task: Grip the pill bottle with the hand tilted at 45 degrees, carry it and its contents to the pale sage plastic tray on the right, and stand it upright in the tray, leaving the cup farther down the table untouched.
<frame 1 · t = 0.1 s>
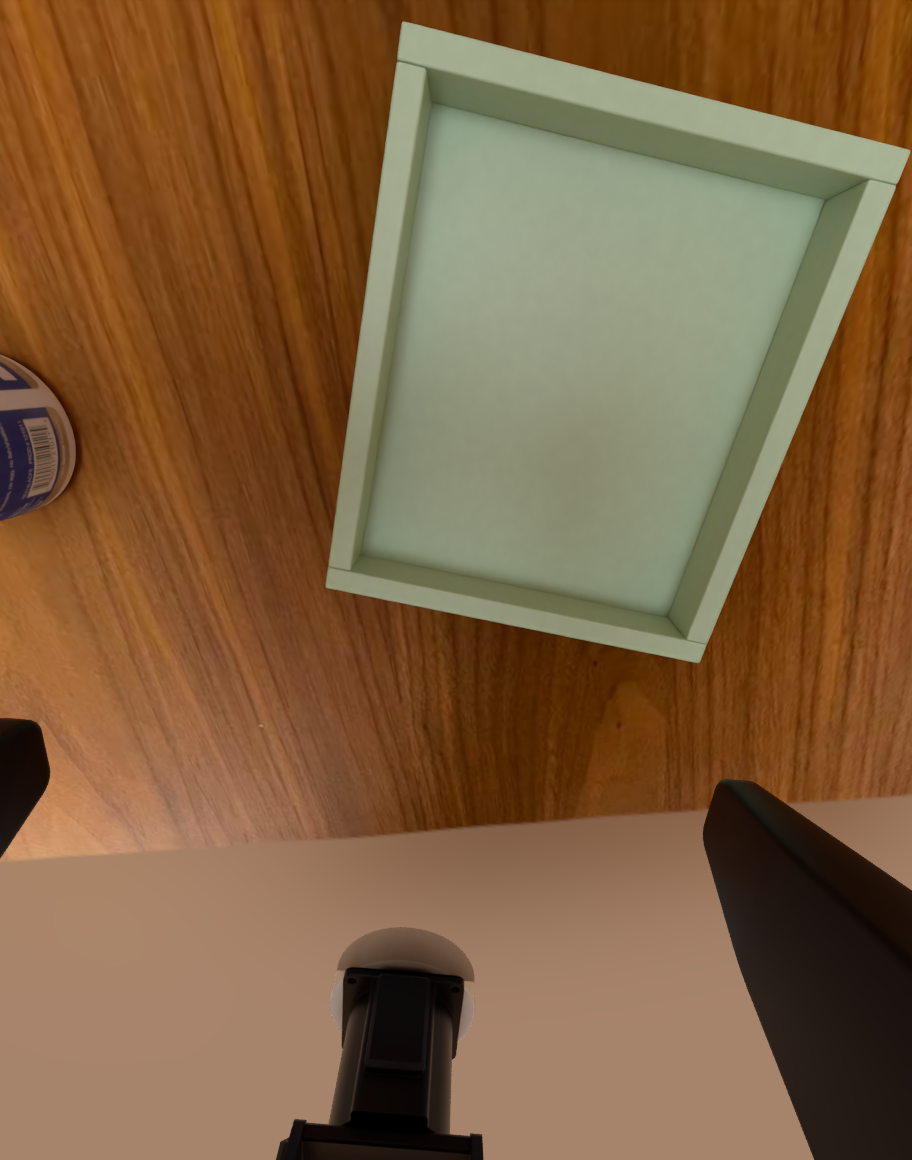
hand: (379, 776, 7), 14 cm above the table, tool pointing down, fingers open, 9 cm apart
tray: (564, 396, 19), on the table
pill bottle: (8, 433, 20), on the table
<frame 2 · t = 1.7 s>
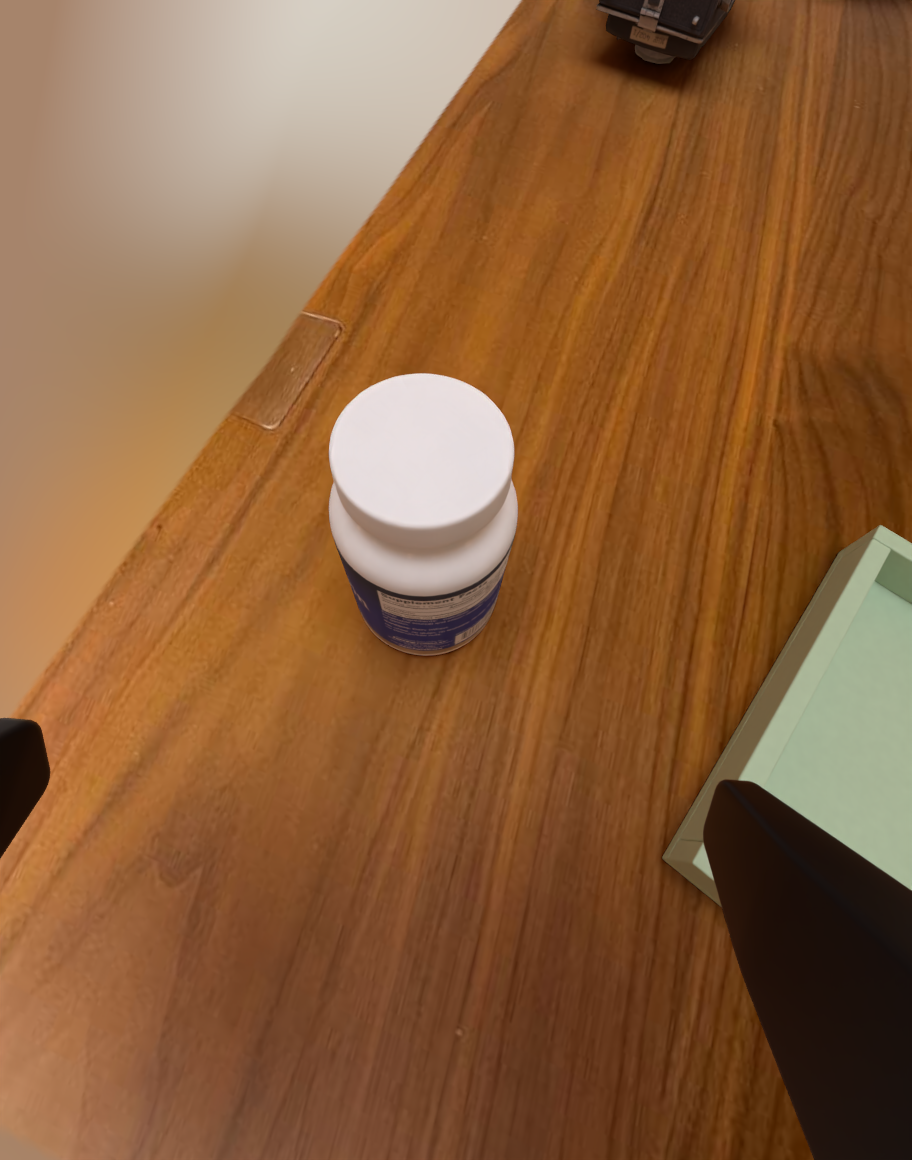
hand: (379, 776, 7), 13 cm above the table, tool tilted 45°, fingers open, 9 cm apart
camera: (665, 43, 42), on the table
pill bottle: (426, 594, 23), on the table
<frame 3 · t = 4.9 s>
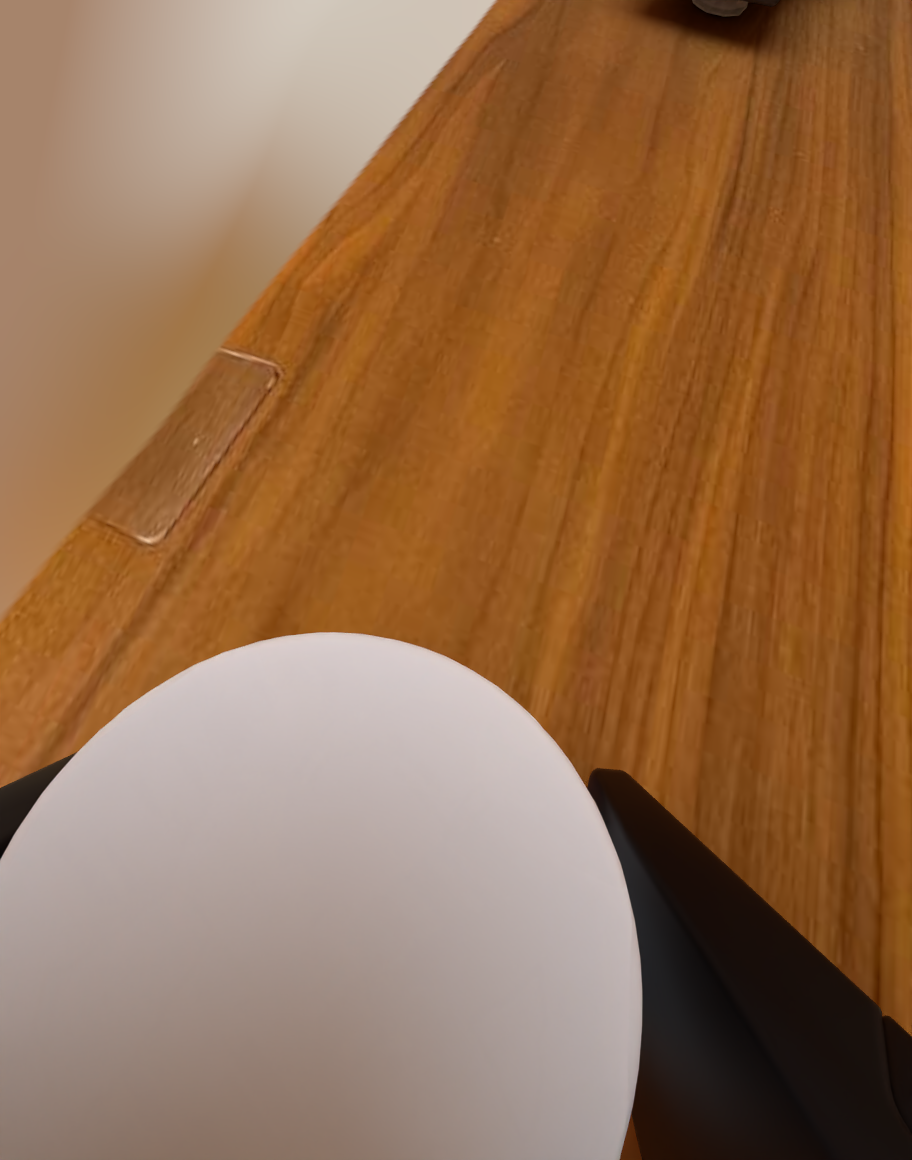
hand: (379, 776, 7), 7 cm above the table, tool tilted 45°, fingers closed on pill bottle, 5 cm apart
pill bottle: (395, 864, 13), on the table, touching gripper
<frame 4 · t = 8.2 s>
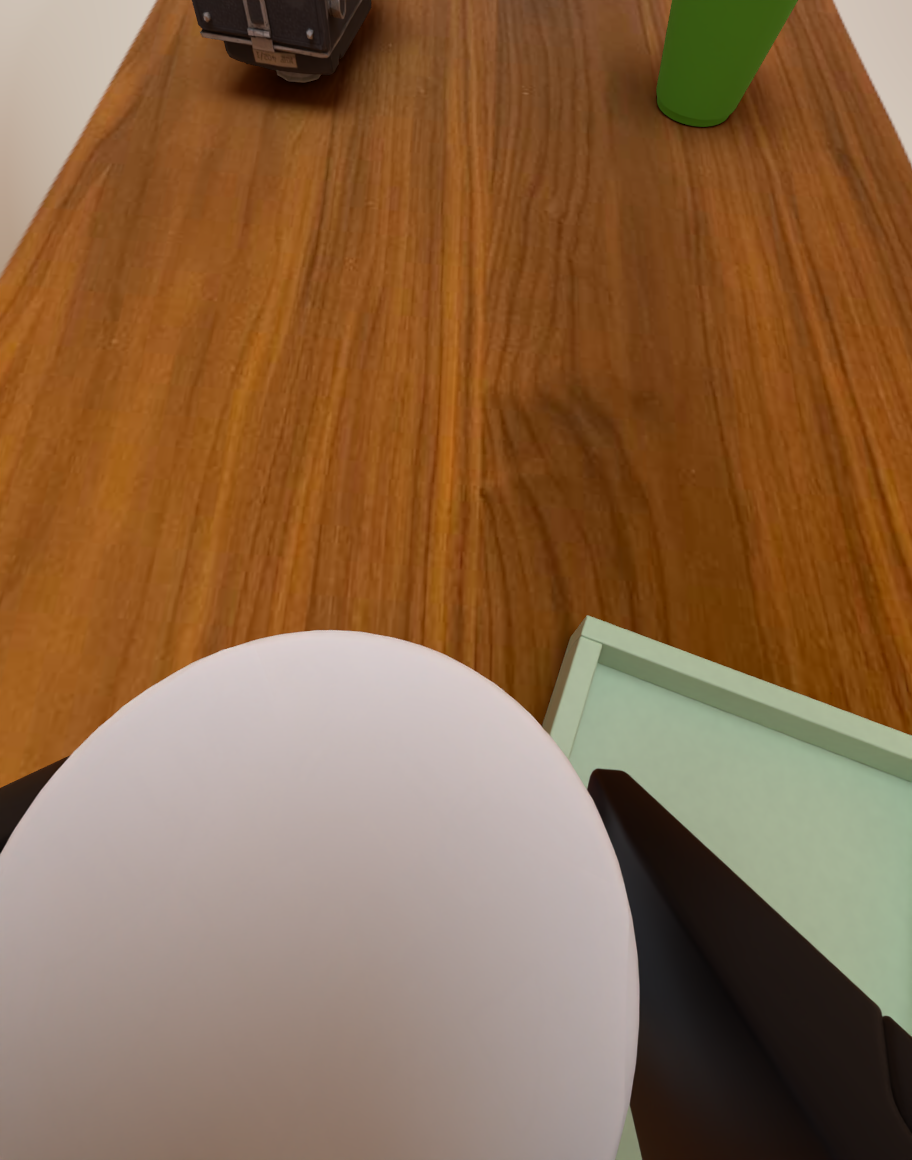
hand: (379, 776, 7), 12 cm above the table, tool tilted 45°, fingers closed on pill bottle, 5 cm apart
cup: (691, 108, 37), on the table
camera: (312, 56, 37), on the table
tray: (706, 934, 17), on the table
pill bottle: (395, 863, 13), point 5 cm above the table, touching gripper
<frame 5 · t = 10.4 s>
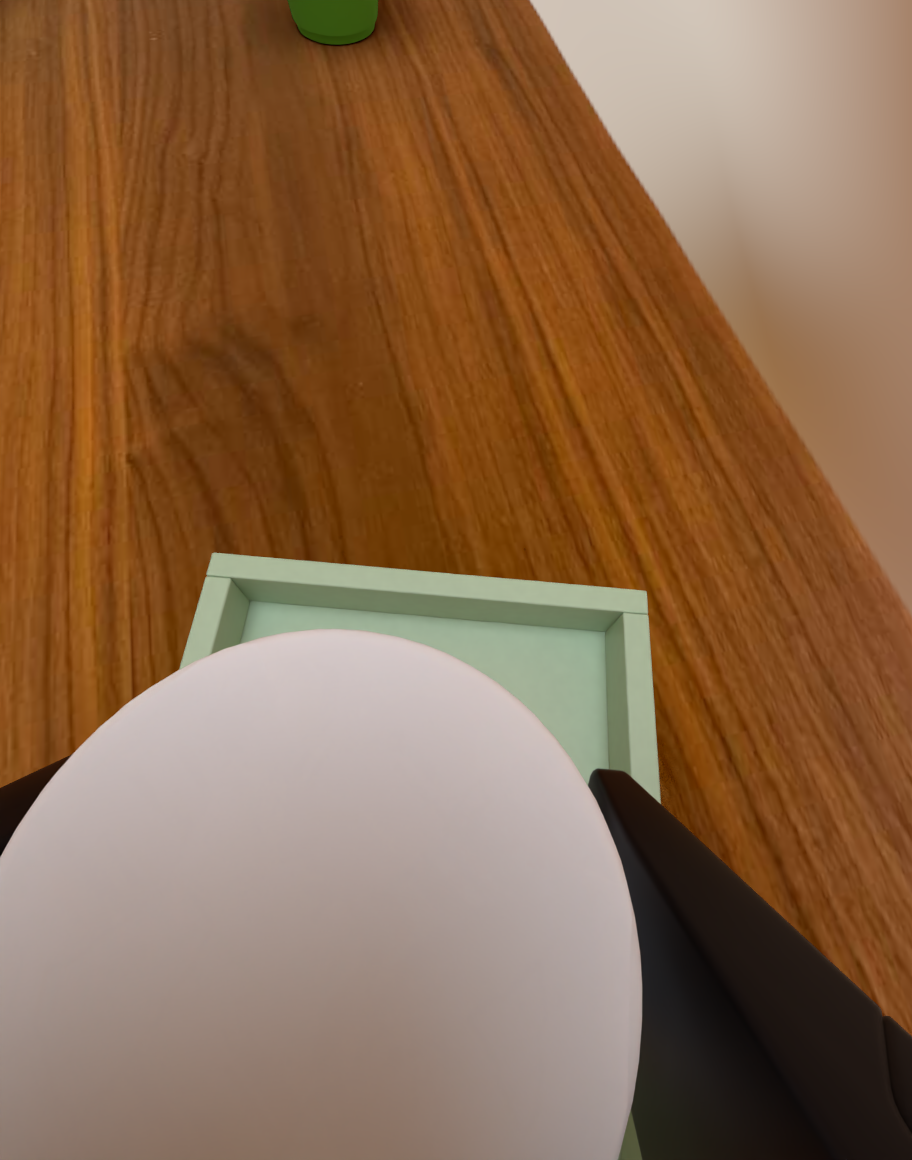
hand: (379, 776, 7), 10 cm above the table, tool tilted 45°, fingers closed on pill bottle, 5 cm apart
cup: (336, 28, 35), on the table
tray: (404, 844, 16), on the table
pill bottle: (396, 862, 13), point 4 cm above the table, touching gripper
when the fingers open (7 cm above the table, at t = 11.8 s): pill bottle stays where it is, resting on tray.
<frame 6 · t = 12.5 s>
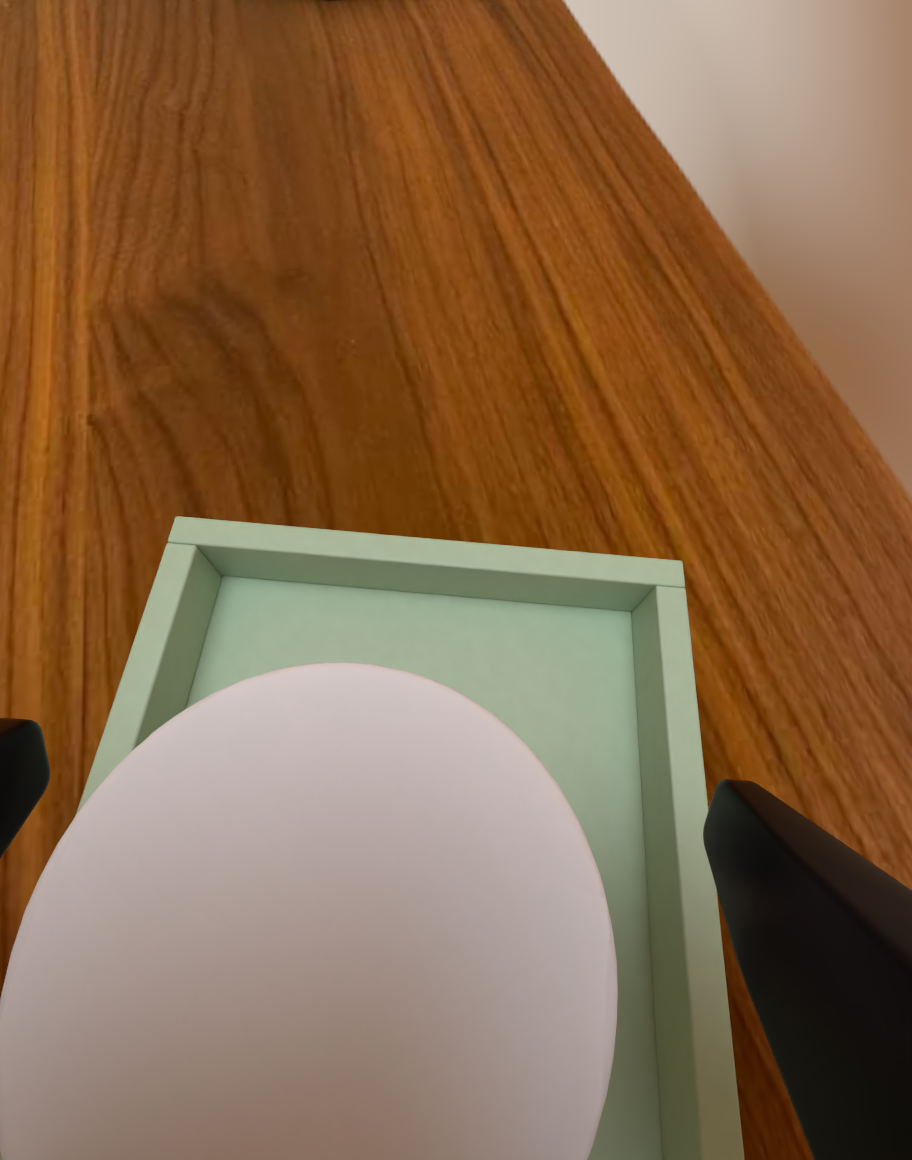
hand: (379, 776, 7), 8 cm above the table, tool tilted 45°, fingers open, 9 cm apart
tray: (399, 860, 14), on the table
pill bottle: (397, 868, 13), resting on tray
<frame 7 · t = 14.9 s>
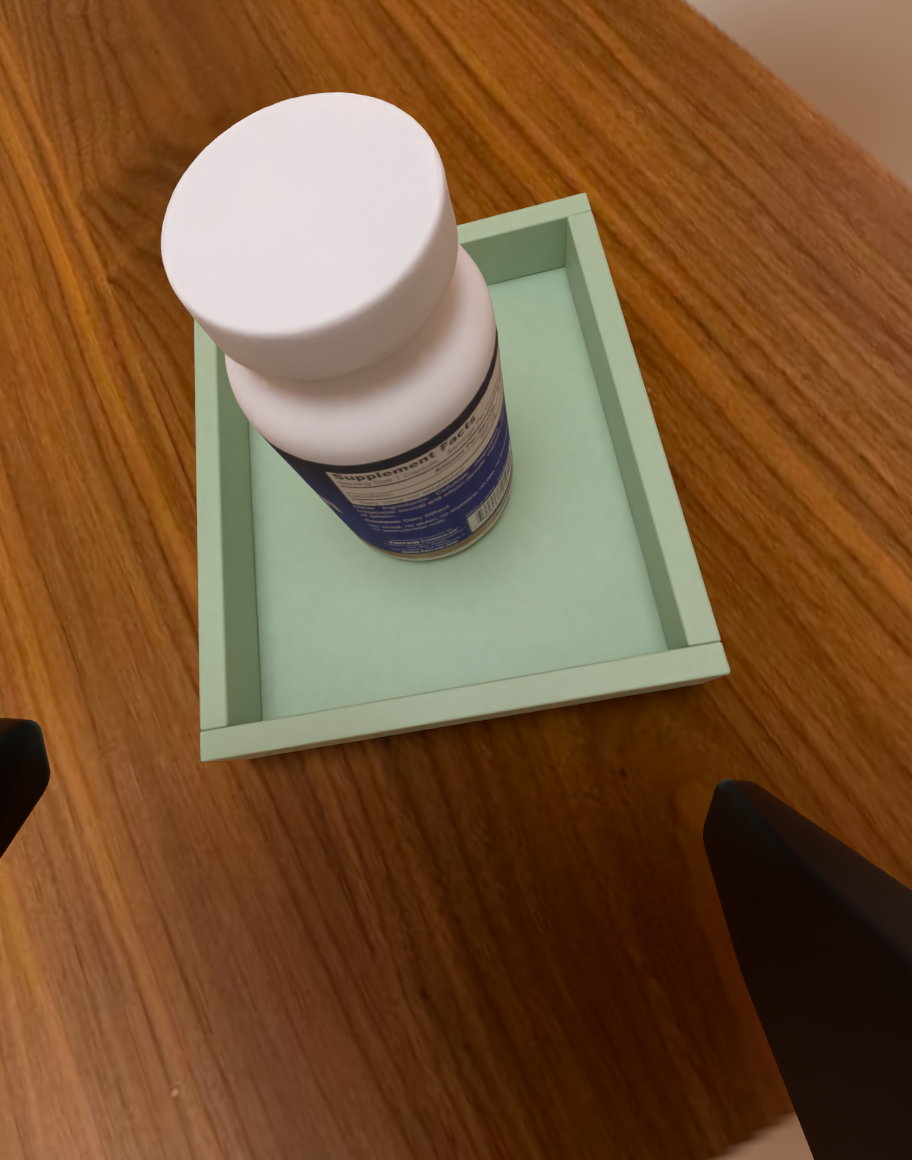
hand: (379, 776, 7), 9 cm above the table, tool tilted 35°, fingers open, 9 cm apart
tray: (429, 485, 18), on the table
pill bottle: (427, 485, 18), resting on tray
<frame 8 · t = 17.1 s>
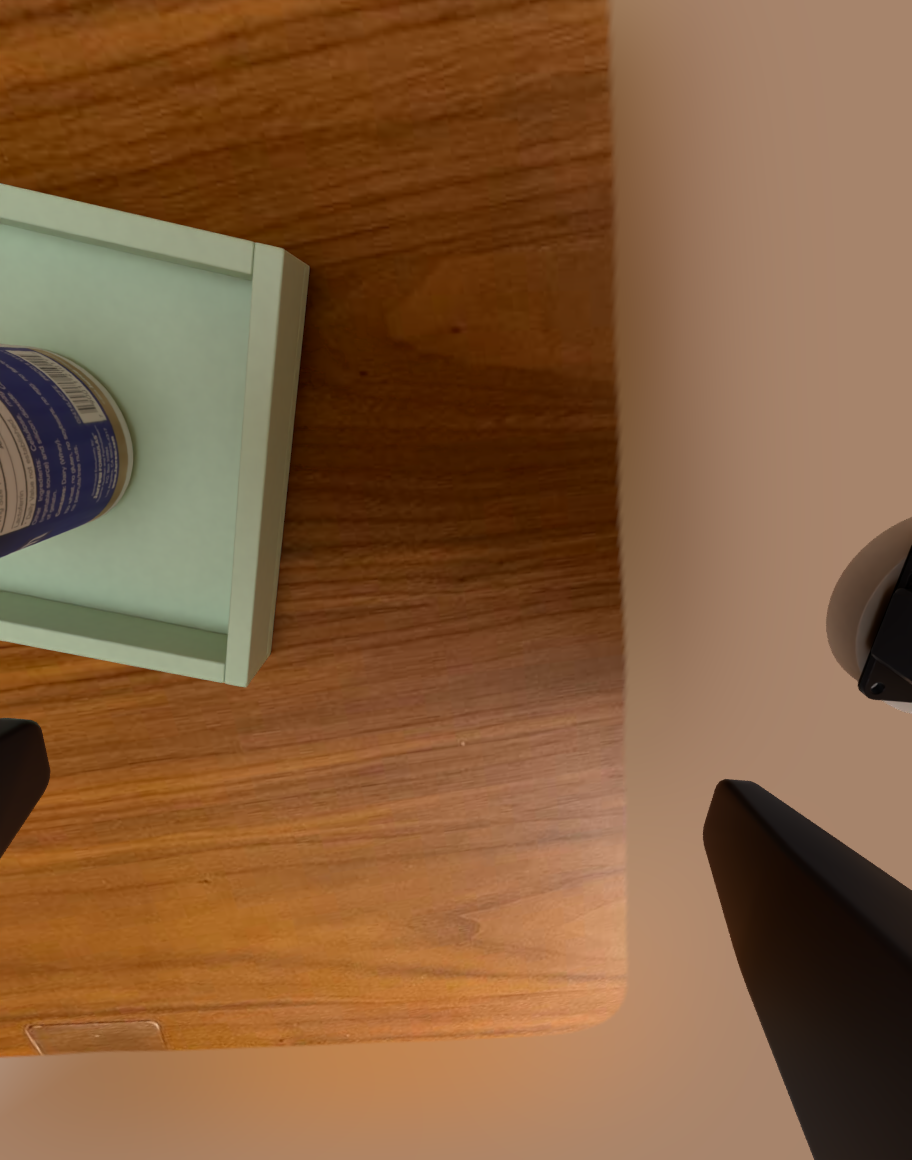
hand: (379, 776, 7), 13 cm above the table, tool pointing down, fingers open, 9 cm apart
tray: (60, 436, 19), on the table
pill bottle: (59, 438, 18), resting on tray
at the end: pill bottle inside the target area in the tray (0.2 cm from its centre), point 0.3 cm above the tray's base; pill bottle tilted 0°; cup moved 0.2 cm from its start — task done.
